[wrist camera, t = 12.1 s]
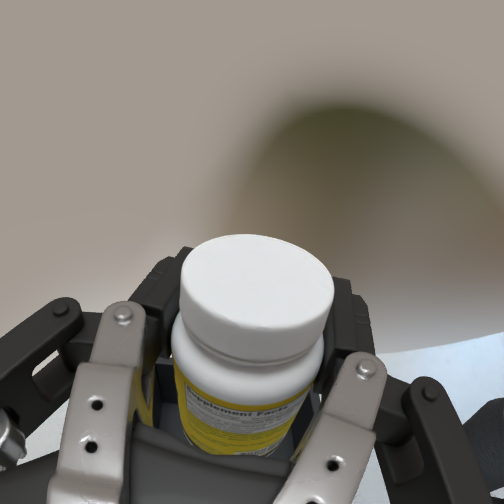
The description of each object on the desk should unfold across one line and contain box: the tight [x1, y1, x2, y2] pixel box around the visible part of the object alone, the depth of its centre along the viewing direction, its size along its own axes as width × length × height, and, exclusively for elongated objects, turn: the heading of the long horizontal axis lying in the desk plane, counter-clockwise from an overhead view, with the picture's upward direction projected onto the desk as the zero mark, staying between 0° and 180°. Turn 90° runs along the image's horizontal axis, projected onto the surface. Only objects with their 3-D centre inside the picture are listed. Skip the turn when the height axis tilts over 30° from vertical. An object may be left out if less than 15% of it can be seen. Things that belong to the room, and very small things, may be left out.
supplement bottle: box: [171, 234, 334, 457], centre depth 10 cm, size 5×5×8 cm
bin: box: [152, 357, 321, 460], centre depth 17 cm, size 12×12×7 cm
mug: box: [462, 398, 504, 504], centre depth 13 cm, size 12×9×11 cm
